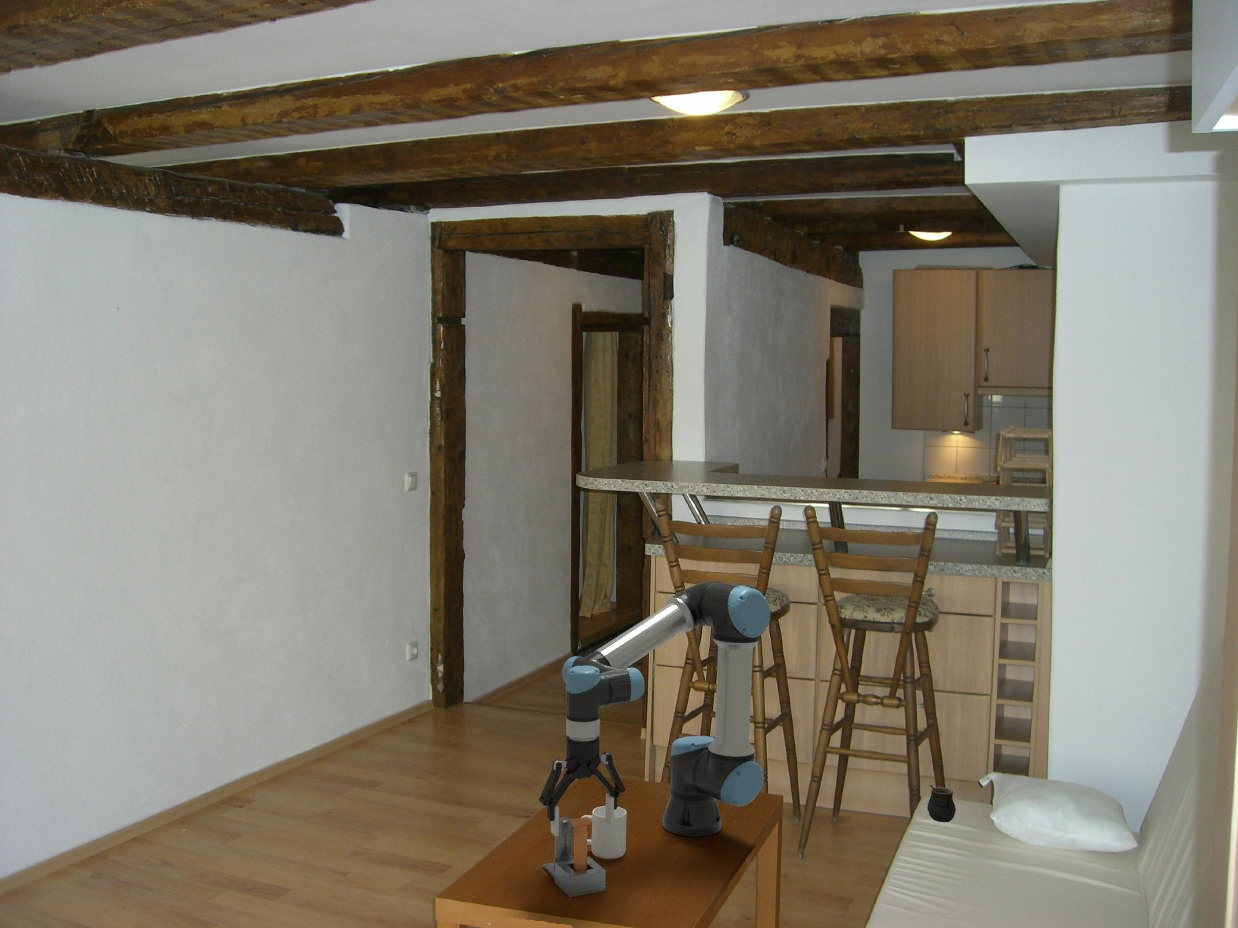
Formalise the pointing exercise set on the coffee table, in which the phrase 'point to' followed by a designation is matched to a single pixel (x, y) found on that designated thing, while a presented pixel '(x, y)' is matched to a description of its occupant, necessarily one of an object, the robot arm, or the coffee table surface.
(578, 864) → the wedge pin
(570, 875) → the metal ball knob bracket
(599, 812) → the cup
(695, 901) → the coffee table surface
